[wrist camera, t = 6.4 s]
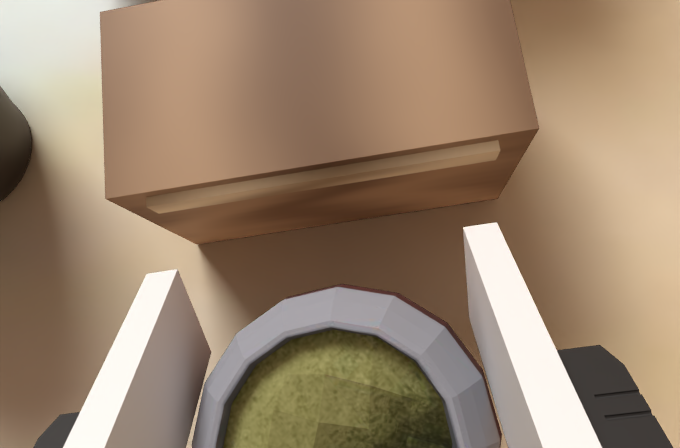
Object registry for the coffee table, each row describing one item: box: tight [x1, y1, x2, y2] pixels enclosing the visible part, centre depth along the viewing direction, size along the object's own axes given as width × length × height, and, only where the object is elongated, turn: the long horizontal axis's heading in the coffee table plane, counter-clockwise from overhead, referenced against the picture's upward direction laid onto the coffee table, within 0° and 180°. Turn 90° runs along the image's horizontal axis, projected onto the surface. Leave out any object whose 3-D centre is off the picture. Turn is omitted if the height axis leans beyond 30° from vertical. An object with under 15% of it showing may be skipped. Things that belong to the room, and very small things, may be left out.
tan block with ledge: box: [100, 0, 539, 244], centre depth 19 cm, size 12×6×7 cm, turn 97°
